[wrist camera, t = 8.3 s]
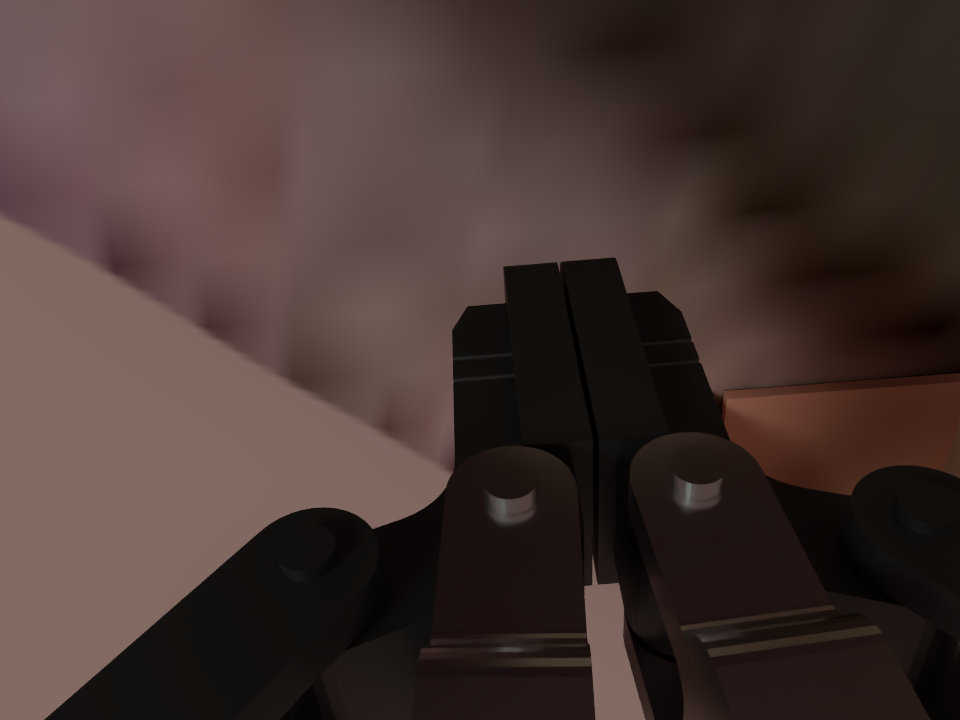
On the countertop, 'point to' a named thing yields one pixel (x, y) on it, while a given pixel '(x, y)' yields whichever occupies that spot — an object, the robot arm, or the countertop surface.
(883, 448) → the frame
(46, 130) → the countertop surface
